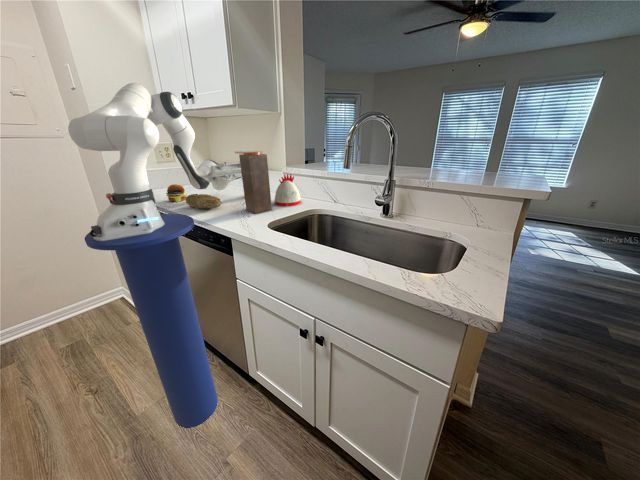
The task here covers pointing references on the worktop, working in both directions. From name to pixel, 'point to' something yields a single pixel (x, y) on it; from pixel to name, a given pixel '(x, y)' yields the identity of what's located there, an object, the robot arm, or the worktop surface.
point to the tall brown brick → (256, 182)
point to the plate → (249, 152)
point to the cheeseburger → (176, 193)
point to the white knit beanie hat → (287, 193)
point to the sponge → (203, 201)
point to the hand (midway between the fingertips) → (233, 162)
